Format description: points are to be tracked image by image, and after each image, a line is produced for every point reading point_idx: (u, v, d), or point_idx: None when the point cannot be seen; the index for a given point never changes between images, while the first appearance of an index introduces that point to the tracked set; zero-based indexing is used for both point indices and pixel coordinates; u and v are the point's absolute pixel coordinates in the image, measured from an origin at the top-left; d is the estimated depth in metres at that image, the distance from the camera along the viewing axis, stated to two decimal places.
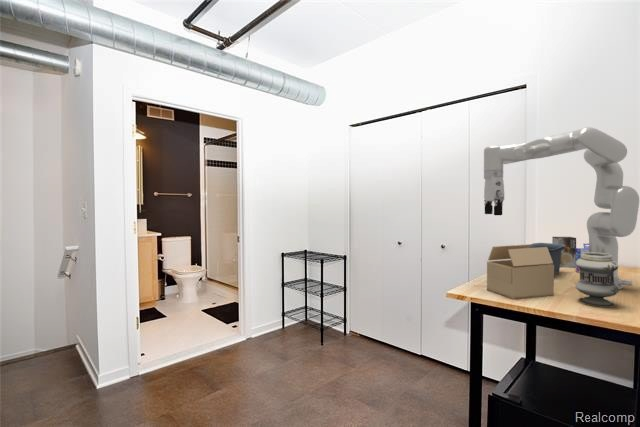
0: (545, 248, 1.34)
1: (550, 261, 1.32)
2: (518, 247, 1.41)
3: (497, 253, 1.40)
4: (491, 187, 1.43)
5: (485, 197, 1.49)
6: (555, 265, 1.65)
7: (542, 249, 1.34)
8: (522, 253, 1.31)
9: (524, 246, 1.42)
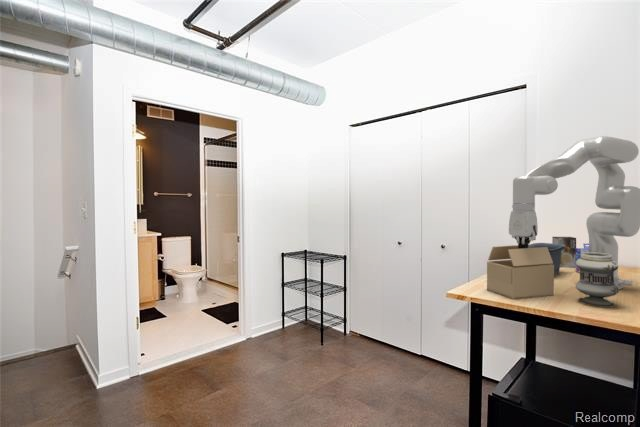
0: (545, 248, 1.34)
1: (550, 261, 1.32)
2: None
3: (497, 253, 1.40)
4: None
5: None
6: (555, 265, 1.65)
7: (542, 249, 1.34)
8: (522, 253, 1.31)
9: None
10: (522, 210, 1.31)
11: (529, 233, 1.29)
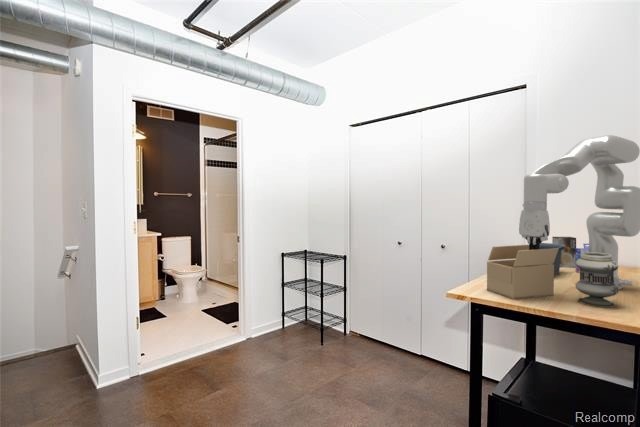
0: (556, 250, 1.30)
1: (551, 262, 1.32)
2: (518, 247, 1.41)
3: (497, 253, 1.40)
4: None
5: None
6: (555, 265, 1.65)
7: (552, 250, 1.29)
8: (530, 254, 1.27)
9: (524, 246, 1.42)
10: (533, 209, 1.26)
11: (541, 233, 1.24)
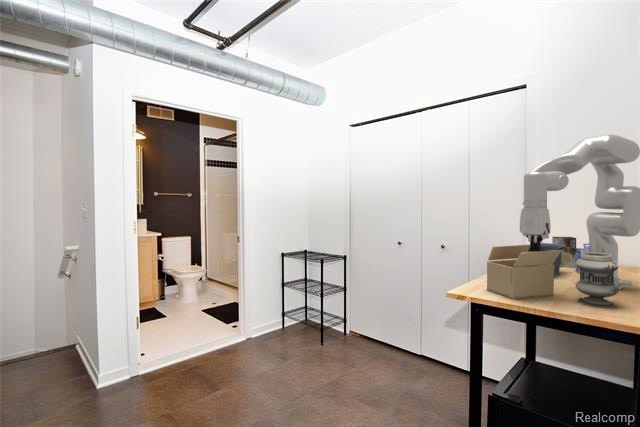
0: (558, 251, 1.29)
1: (552, 262, 1.32)
2: (518, 247, 1.41)
3: (497, 253, 1.40)
4: None
5: None
6: (555, 265, 1.65)
7: (554, 252, 1.28)
8: (532, 256, 1.27)
9: (524, 246, 1.42)
10: (534, 207, 1.26)
11: (542, 231, 1.24)
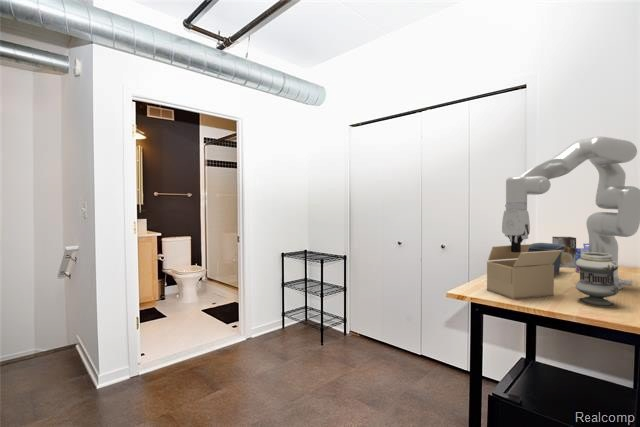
0: (558, 251, 1.29)
1: (552, 262, 1.32)
2: None
3: (497, 253, 1.40)
4: None
5: None
6: (555, 265, 1.65)
7: (554, 252, 1.28)
8: (532, 256, 1.27)
9: (524, 246, 1.42)
10: (515, 209, 1.35)
11: (521, 232, 1.33)
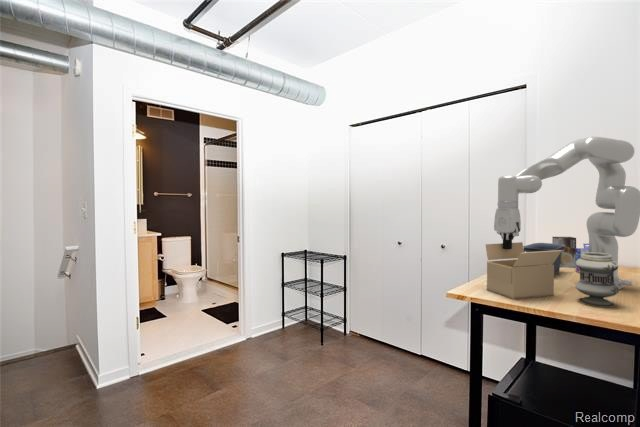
0: (558, 251, 1.29)
1: (552, 262, 1.32)
2: None
3: (493, 251, 1.42)
4: None
5: None
6: (555, 265, 1.65)
7: (554, 252, 1.28)
8: (532, 256, 1.27)
9: (517, 244, 1.46)
10: (506, 207, 1.39)
11: (513, 229, 1.37)
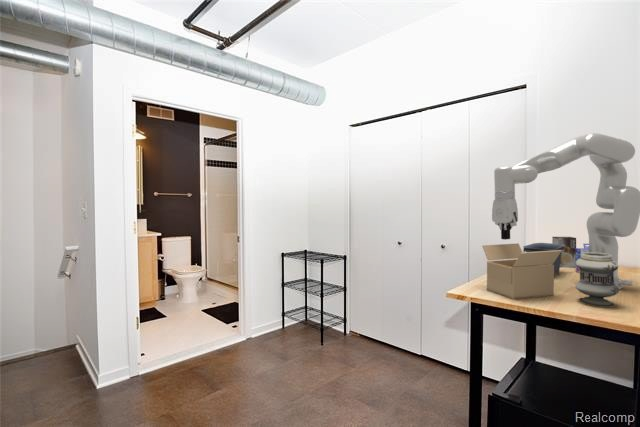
0: (558, 251, 1.29)
1: (552, 262, 1.32)
2: (508, 246, 1.46)
3: (491, 251, 1.43)
4: None
5: None
6: (555, 265, 1.65)
7: (554, 252, 1.28)
8: (532, 256, 1.27)
9: (513, 245, 1.47)
10: (503, 198, 1.41)
11: (510, 219, 1.38)
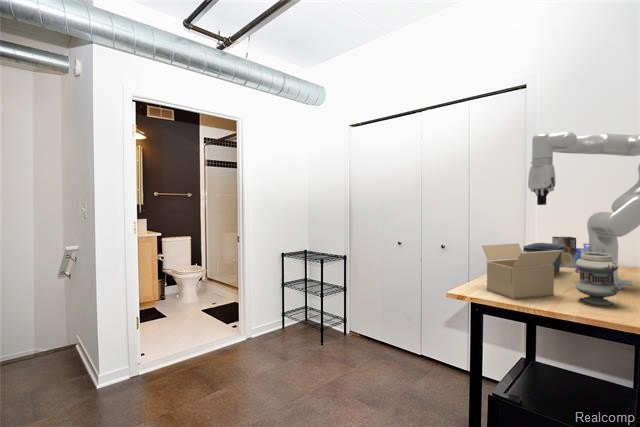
0: (558, 251, 1.29)
1: (552, 262, 1.32)
2: (508, 246, 1.47)
3: (491, 251, 1.43)
4: None
5: None
6: (555, 265, 1.65)
7: (554, 252, 1.28)
8: (532, 256, 1.27)
9: (513, 245, 1.47)
10: (541, 164, 1.45)
11: (548, 184, 1.43)
